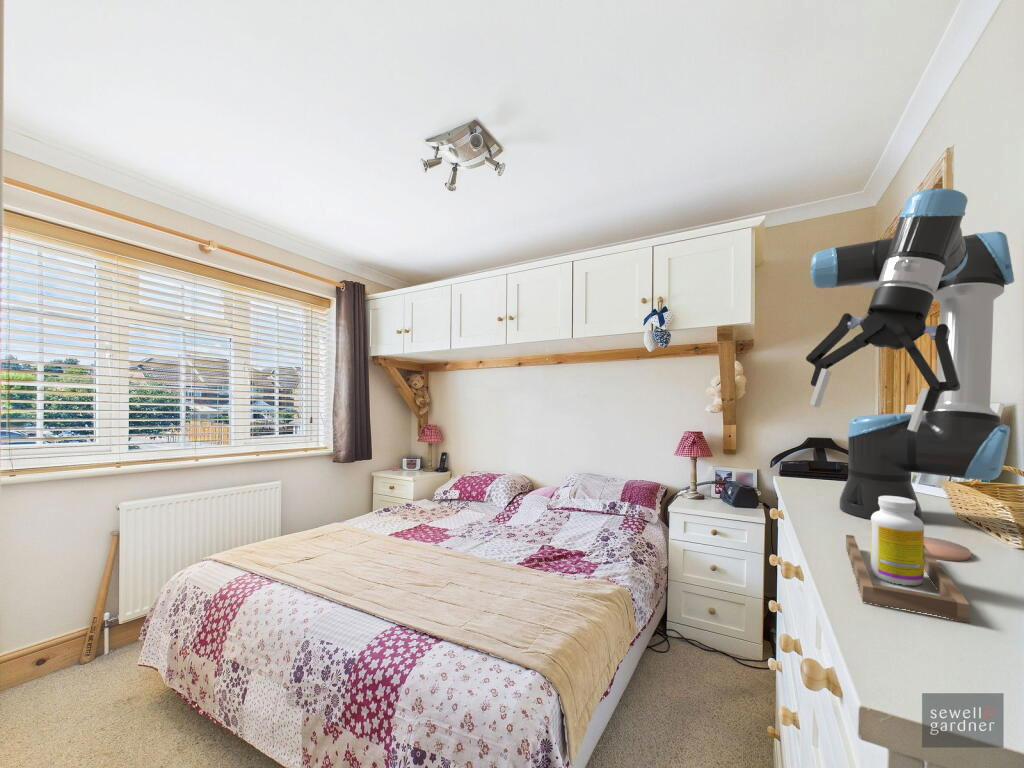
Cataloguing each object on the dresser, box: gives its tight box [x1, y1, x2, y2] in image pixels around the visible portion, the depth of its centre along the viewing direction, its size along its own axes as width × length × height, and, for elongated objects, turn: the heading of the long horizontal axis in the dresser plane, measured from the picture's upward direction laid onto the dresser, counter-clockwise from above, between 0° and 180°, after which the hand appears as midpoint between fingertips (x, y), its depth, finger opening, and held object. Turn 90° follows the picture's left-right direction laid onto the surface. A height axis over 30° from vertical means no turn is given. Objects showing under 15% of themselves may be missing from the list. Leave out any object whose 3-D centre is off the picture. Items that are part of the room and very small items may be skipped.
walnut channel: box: [845, 534, 971, 624], centre depth 76 cm, size 25×11×2 cm, turn 149°
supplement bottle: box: [870, 496, 925, 586], centre depth 76 cm, size 7×7×13 cm
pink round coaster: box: [924, 536, 971, 562], centre depth 88 cm, size 10×10×1 cm
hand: (859, 417), depth 77 cm, fingers open, 13 cm apart
